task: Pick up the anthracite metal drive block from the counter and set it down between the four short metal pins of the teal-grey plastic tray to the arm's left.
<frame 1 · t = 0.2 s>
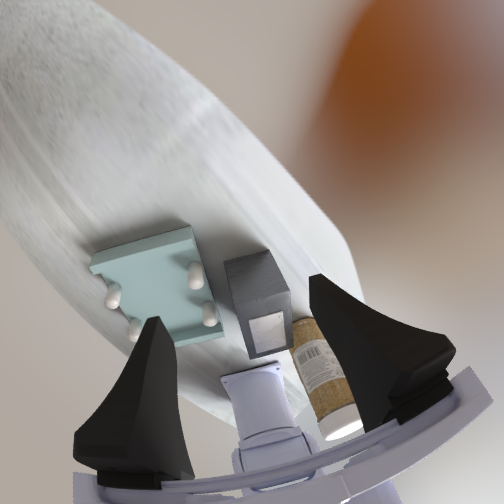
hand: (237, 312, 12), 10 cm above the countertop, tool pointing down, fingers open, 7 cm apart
sprinkles bottle: (300, 328, 30), on the countertop
tray: (162, 291, 23), on the countertop
drive: (252, 285, 25), on the countertop
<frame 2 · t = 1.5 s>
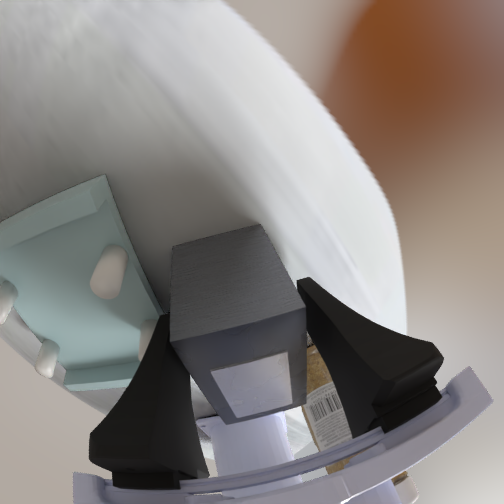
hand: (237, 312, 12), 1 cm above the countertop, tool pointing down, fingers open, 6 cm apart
sprinkles bottle: (313, 357, 19), on the countertop
tray: (78, 299, 12), on the countertop
drive: (231, 292, 14), on the countertop
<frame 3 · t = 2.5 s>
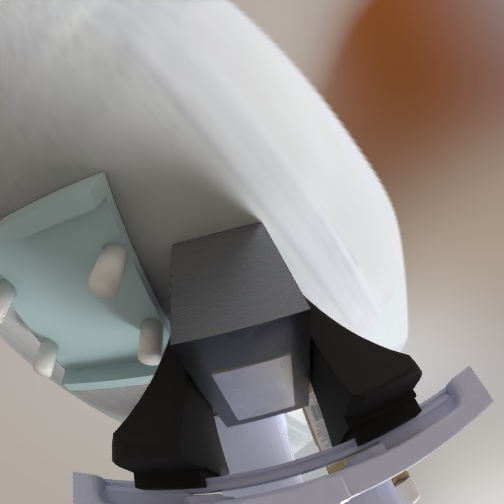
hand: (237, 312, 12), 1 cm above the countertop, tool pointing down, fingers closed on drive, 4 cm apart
sprinkles bottle: (314, 356, 19), on the countertop
tray: (77, 298, 12), on the countertop
drive: (232, 292, 14), on the countertop, touching gripper
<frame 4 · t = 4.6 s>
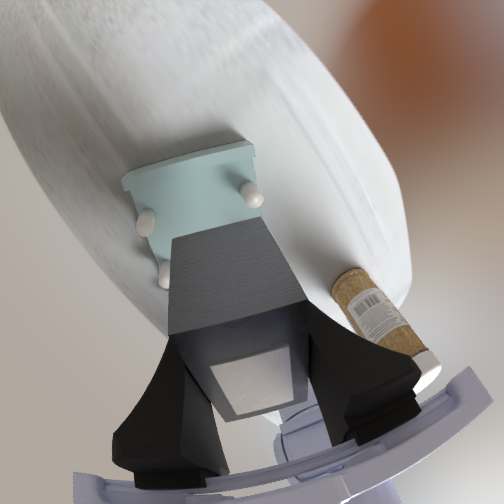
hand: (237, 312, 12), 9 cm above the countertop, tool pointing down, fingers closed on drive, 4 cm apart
sprinkles bottle: (348, 283, 27), on the countertop
tray: (204, 224, 20), on the countertop
drive: (231, 287, 14), point 8 cm above the countertop, touching gripper
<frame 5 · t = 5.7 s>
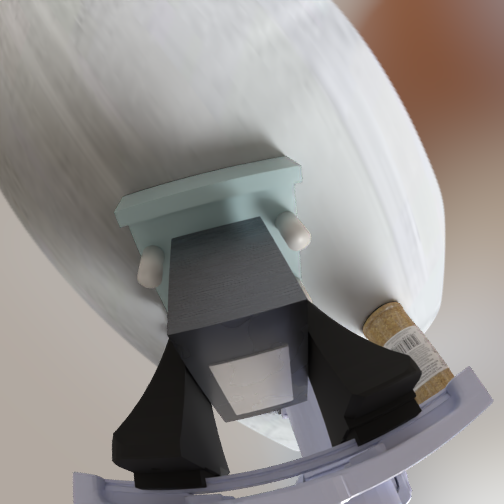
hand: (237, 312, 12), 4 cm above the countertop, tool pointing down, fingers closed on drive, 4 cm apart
sprinkles bottle: (380, 316, 23), on the countertop
tray: (225, 263, 16), on the countertop
drive: (231, 287, 14), point 2 cm above the countertop, touching gripper
when the fingers open (4 cm above the countertop, at t = 6.6 s): drive drops 1 cm, resting on tray.
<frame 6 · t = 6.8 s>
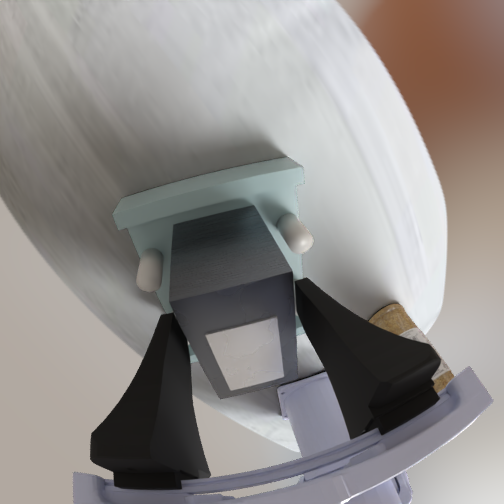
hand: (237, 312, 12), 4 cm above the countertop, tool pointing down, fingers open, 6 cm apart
sprinkles bottle: (382, 318, 23), on the countertop
tray: (226, 266, 16), on the countertop
drive: (227, 271, 15), point 1 cm above the countertop, touching tray
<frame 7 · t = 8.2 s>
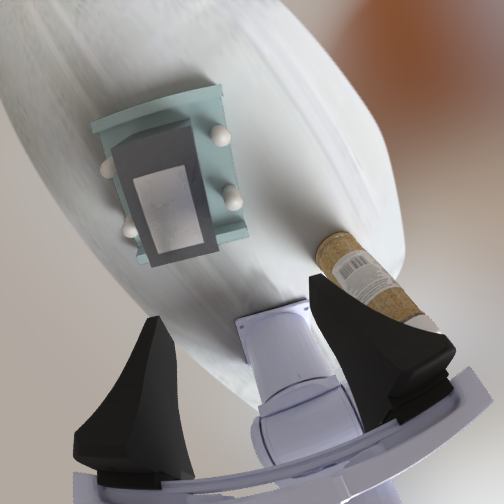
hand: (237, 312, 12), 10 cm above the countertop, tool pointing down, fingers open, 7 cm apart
sprinkles bottle: (334, 249, 26), on the countertop
tray: (173, 173, 18), on the countertop
drive: (172, 173, 18), point 1 cm above the countertop, touching tray
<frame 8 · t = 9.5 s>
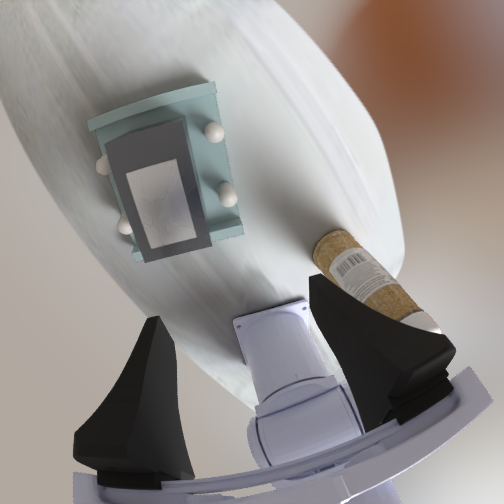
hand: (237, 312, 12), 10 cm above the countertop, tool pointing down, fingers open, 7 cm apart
sprinkles bottle: (332, 248, 25), on the countertop
tray: (169, 170, 18), on the countertop
drive: (167, 170, 18), point 1 cm above the countertop, touching tray
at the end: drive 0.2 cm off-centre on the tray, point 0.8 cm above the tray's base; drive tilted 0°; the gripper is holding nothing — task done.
